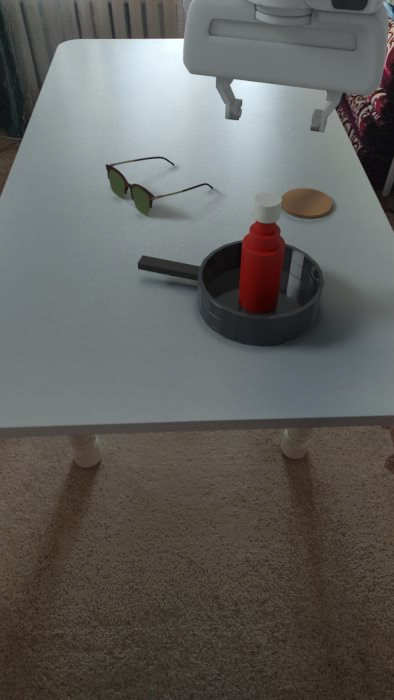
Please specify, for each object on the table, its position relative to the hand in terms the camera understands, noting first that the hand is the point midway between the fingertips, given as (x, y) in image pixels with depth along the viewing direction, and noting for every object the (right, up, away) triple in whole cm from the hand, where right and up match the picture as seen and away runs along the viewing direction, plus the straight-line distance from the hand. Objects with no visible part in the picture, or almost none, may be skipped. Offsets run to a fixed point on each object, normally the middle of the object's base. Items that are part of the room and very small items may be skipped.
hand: (274, 123), depth 60 cm
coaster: (+11, +1, +37) cm, 38 cm away
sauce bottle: (0, -18, +19) cm, 26 cm away
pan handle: (-12, -13, +20) cm, 27 cm away
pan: (0, -18, +19) cm, 26 cm away
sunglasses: (-15, +4, +41) cm, 44 cm away
